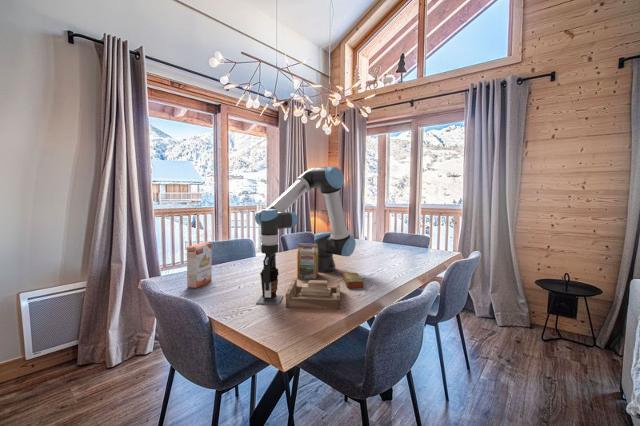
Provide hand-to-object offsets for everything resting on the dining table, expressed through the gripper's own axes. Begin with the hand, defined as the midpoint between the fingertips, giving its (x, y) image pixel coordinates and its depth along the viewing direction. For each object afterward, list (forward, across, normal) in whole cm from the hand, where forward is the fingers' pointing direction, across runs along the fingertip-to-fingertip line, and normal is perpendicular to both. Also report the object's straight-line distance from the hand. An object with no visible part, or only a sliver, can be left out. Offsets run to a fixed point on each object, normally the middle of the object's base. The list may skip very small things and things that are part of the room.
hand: (270, 293), depth 137 cm
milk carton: (+3, -39, +13) cm, 41 cm away
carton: (+4, -27, +38) cm, 47 cm away
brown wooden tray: (+3, -4, +20) cm, 21 cm away
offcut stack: (+3, -10, +20) cm, 23 cm away
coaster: (+3, 0, 0) cm, 3 cm away
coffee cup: (+2, 0, 0) cm, 2 cm away
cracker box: (+3, -20, -42) cm, 47 cm away
